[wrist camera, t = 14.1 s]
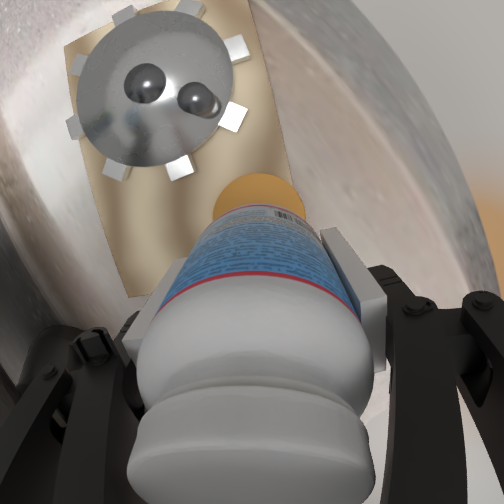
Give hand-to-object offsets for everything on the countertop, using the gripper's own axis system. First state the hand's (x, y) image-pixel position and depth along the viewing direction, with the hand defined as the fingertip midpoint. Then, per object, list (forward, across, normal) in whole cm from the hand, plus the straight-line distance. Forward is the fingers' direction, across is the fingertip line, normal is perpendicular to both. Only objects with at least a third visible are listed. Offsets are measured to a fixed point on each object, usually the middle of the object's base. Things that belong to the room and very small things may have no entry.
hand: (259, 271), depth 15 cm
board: (+11, -5, +8) cm, 14 cm away
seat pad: (+10, 0, 0) cm, 10 cm away
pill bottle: (+1, 0, 0) cm, 1 cm away
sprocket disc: (+10, -6, +12) cm, 17 cm away
